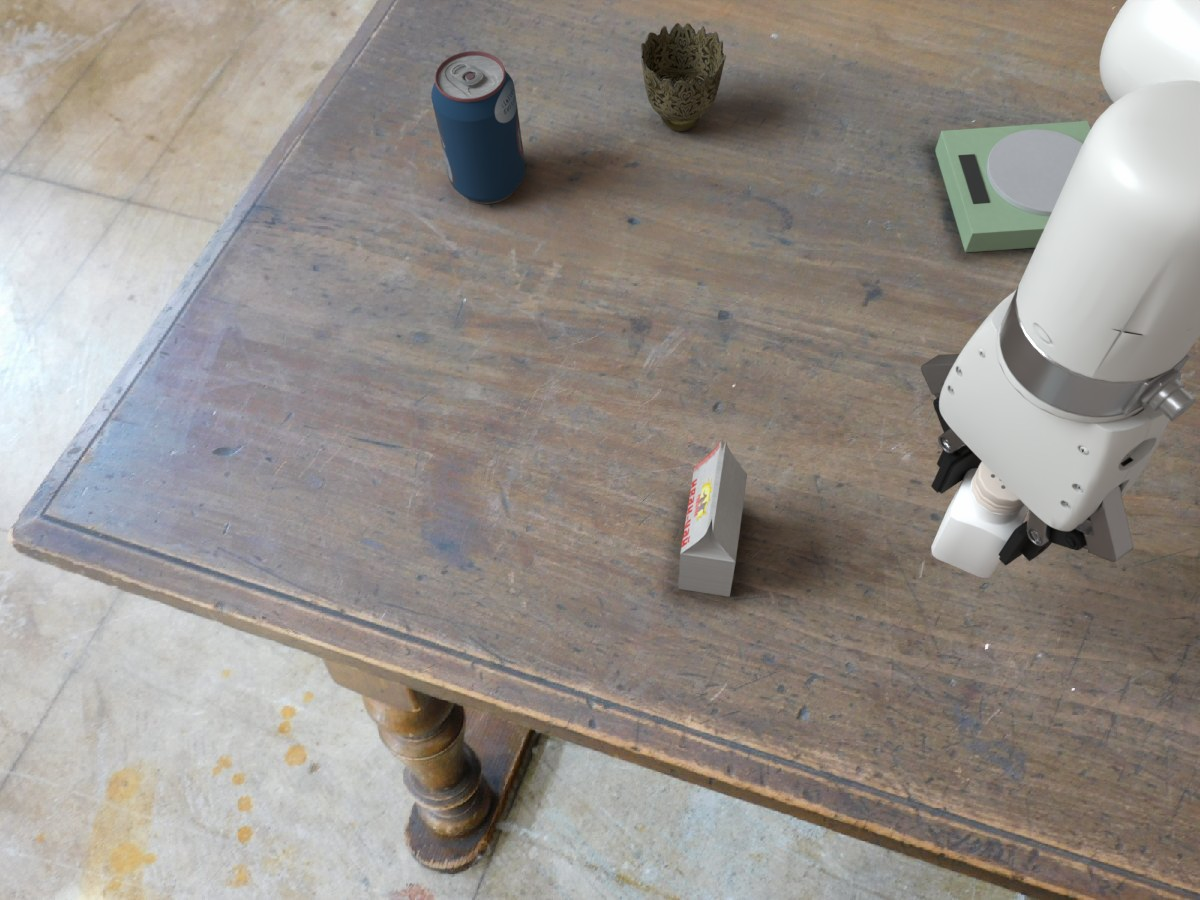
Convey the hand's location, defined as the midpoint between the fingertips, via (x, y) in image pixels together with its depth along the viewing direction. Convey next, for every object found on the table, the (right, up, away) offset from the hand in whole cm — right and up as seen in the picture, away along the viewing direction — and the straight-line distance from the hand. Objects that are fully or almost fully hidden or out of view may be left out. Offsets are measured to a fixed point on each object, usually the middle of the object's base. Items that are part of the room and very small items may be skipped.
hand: (986, 511), depth 64 cm
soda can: (-33, +28, +33) cm, 55 cm away
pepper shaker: (0, -3, +4) cm, 5 cm away
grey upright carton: (-15, -4, +14) cm, 21 cm away
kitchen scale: (+14, +26, +30) cm, 42 cm away
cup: (-16, +34, +36) cm, 52 cm away
